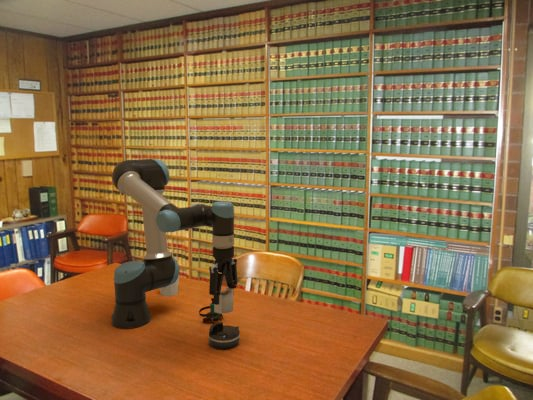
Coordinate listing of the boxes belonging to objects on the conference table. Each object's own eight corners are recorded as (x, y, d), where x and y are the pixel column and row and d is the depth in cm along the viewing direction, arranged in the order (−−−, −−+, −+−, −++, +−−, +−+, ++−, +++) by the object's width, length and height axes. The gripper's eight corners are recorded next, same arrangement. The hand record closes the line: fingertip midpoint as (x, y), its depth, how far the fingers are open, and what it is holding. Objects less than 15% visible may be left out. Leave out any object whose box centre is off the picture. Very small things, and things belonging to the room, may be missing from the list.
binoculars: (201, 292, 176) (224, 291, 174) (204, 316, 178) (226, 316, 175) (193, 299, 168) (217, 299, 166) (196, 325, 169) (220, 325, 167)
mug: (171, 297, 197) (171, 276, 195) (156, 294, 200) (155, 274, 198) (185, 288, 208) (185, 269, 206) (170, 286, 211) (170, 267, 209)
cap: (211, 311, 150) (211, 294, 149) (222, 305, 156) (222, 289, 155) (226, 314, 147) (226, 297, 146) (236, 308, 152) (236, 292, 152)
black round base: (202, 344, 151) (202, 330, 150) (220, 332, 161) (220, 319, 160) (228, 352, 146) (228, 337, 145) (245, 339, 155) (245, 325, 154)
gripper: (215, 253, 138) (216, 321, 141) (247, 241, 155) (247, 302, 158) (197, 250, 142) (198, 316, 145) (230, 239, 158) (230, 298, 161)
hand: (224, 308), depth 151 cm, fingers closed on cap, 6 cm apart
